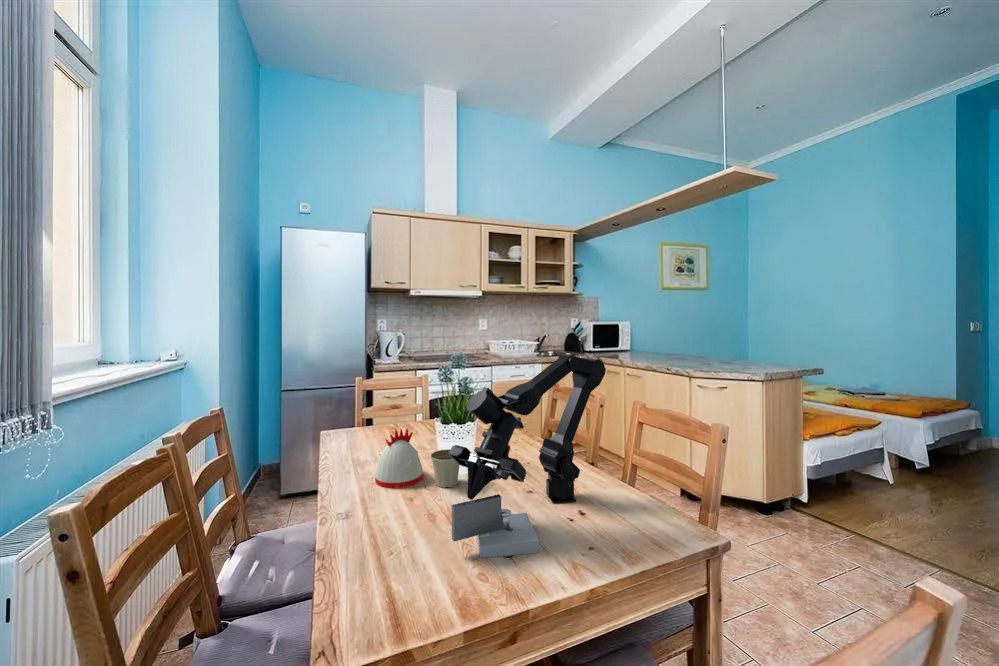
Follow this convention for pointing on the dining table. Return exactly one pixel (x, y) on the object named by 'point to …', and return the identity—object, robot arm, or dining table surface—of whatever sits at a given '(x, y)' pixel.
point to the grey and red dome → (399, 463)
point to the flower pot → (445, 468)
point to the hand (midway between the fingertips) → (469, 498)
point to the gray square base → (510, 539)
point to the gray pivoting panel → (478, 517)
